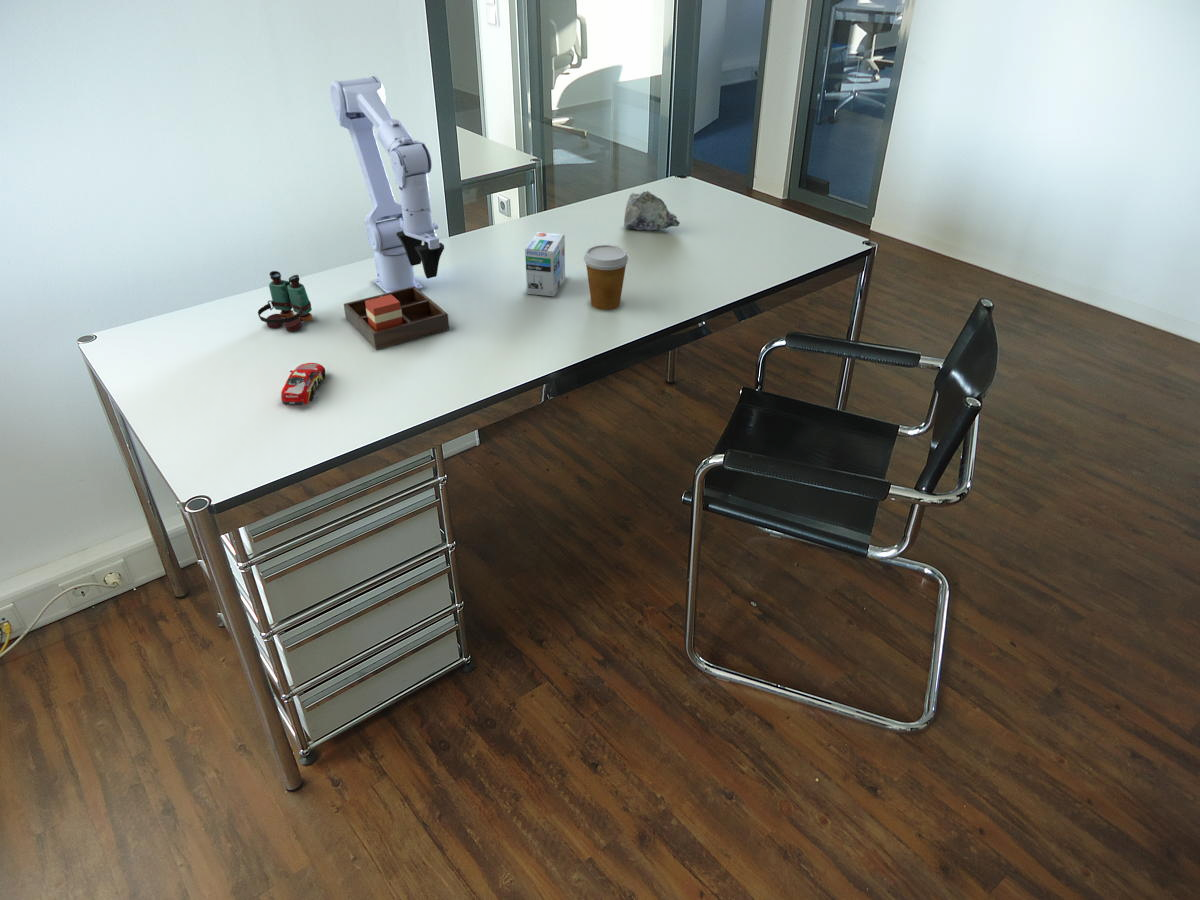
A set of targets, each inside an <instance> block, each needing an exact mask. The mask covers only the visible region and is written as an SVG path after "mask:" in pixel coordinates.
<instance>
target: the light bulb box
mask: <svg viewBox="0 0 1200 900" xmlns="http://www.w3.org/2000/svg"><path fill="white" fill-rule="evenodd" d="M524 255H525V258H524V259H525V280H526V294H528V295H534V296H535V295H537V296H545V297H552V298H553V297H556V295H557V293H558V292H559V290H560V288H561V287H562V285H563V284H564V282H565V280H566V236H565V234H562V233H561V234H560V233H550V232H542V231H536V233H535V234H534V236H532V239H531V240H530V241H529V242H528V244H527V245H526V247H525V248H524Z"/></svg>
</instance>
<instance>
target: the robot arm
mask: <svg viewBox="0 0 1200 900" xmlns="http://www.w3.org/2000/svg"><path fill="white" fill-rule="evenodd" d="M329 91H330V100H331V104H332V108H333V110H334V113H335V116H336V119H337V121H338V123H339V126H340V127H342V128H345V129H347V130H348V133H349V136H350V138H351V142H352V144H353V148H354V151H355V154H356V157H357V161H358V163H359V166H360V169H361V173H362V177H363V179H364V182H365V185H366V189H367V192H368V195H369V199H370V201H371V204H372V208H371V210H370V211H369V212H368V213H367V215H366V216H365V217H364V218H365V219H364V225H365V231H366V238H367V241H368V243H369V246H370V248H371V249H372V250H373V251H374V254H373V257H374V265H375V271H376V278H375V279H374V280H373V283H375V284H376V286H378V288H380V289H381V290H382V291H383V292H384V293H389V292H393V291H397V290H401V289H405V288H409V287H413V286H415V287H416V288H417V289H419V290H420V289H423V285H422V284H420V282H418V281H417V280H416V277H415V271H414V270H415V269H414V266H418V265H422V268H423V272H424V275H425V277H426V279H433V278H436V277H437V276H438V271H439V263H440V259H441V256H442V254H443V252H444V249H445V245H444V243H442V242H440V238H438V236H437V234H436V231H437V230H439V225H438V224H437V223H435V222H433V216H432V205H431V196H430V187H429V178H428V174H429V173H431V171H432V166H433V165H432V157H431V154H430V150H429V148H428V147H427V145H426V143H425V142H423V141H419V140H415V139H414V138H413V136H412V135H411V134H410V132H409V131H408V129H407V128H406V126H405V125H404V124H403V122H402V121H401V120H399V119H395V118H393V116H392V115H391V113H390V111H389V108H388V107H387V106H386V93H385V88H384V85H383V83H382V81H381V79H380V78H378V77H377V76H376V75H372V76H368V77H361V78H353V79H344V80H333V81H332V83H331V85H330V90H329ZM374 127H375V129H376V130H377V131H376V135H375V132H374ZM376 137H377V139H376ZM377 140H378V141H379V142H380V144H381V146H382V147H383V148H384V150H385V151H386V153H387V154H388V156H389V157H390V165H391V168H392V171H393V175H394V179H395V182H396V183H395V184H396V186H398V189H399V199H400V203H399V202H397V201H396V200H395V196H394V194H393V190H392V187H391V183H390V180H389V177H388V174H387V171H386V168H385V164H384V161H383V158H382V155H381V152H380V149H379V145H378V142H377Z"/></svg>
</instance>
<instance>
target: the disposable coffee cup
mask: <svg viewBox="0 0 1200 900" xmlns="http://www.w3.org/2000/svg"><path fill="white" fill-rule="evenodd" d="M629 258H630V257H629V255H628V253H627V251H626V249H624V247H621V246H619V245H613V244H598V245H593V246H591V247H589V248H587V250H586V251H585V254H584V256H583V260H584V261H583V262H584V263H585V265H586V273H587V279H588V280H587V282H588V289H589V296H590V304H591V306H592V308H594V309H596V310H599V311H611V310H616V309H617V308H619V307H620V305H621V299H622V293H623V287H624V280H625V274H626V268H627V264H628V262H629Z"/></svg>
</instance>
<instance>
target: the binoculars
mask: <svg viewBox="0 0 1200 900" xmlns="http://www.w3.org/2000/svg"><path fill="white" fill-rule="evenodd" d="M269 277H270V279H271V280H272V281H270V282H269V283H268V288H269V292H270V297H271V300H268V301H267V304H265V305H264V306H262V307H261V308H259V309H258V311H257V315H258V318H259V320H260V321H261V322H264V323H266V326H267V327H268V329H273V330H274V329H279V328H281V327H282V326H283V325H284V329H286V331H287V332H289V333H291V332H292V333H293V332H296V331H298V330H300V329H301V327H303V322H305V323H306V322H310V321H312V320H314V317H313V314H312V310H313V307H312V303H311V301H310V299H309V295H308V293H307V291H306V287H305V286H304V284H302V283H301V282H300V276H299V274H293V275H292V276H290V277H289V278H288V280H284V279H282V274H281V272H280V271H277V270H272V271H270V272H269ZM273 309H274V310H276V311H280V312H279V313H273V314H271V315H268V316H267V317H263V316H261V314H263V313H264V312H265V311H268V310H270V311H272V310H273ZM295 313H296V314H295Z"/></svg>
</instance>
